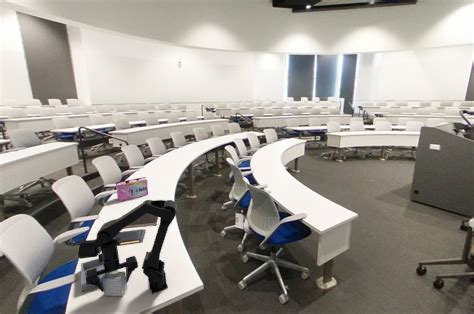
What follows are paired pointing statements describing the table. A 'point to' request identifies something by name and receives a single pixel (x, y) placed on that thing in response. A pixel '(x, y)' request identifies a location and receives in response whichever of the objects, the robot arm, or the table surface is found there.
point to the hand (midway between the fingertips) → (115, 286)
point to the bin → (89, 266)
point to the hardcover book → (144, 220)
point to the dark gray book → (131, 237)
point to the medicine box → (114, 283)
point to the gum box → (132, 188)
